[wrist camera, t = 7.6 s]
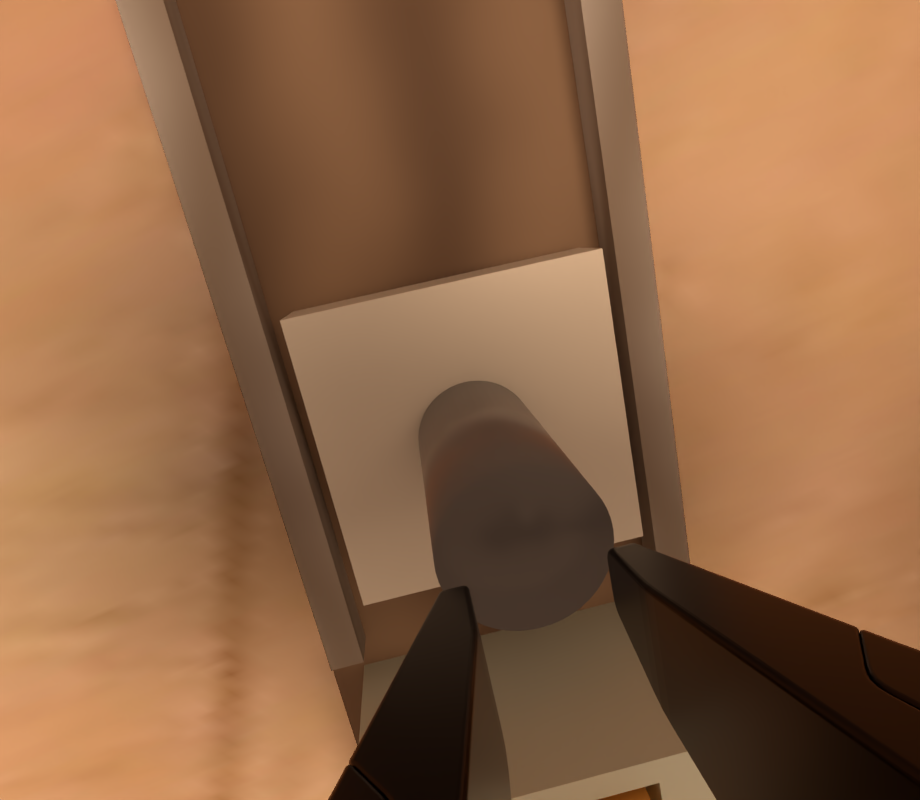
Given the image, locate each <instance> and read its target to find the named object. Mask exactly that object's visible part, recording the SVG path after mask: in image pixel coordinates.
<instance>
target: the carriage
mask: <svg viewBox="0 0 920 800" xmlns="http://www.w3.org/2000/svg"><path fill="white" fill-rule="evenodd" d="M280 323H281V327H282V330H283V333H284V337H285V340H286V344H287V347H288V350H289V354H290V357H291V361H292V364H293V367H294V371H295V374H296V378H297V381H298V384H299V388H300V391H301V395H302V398H303V401H304V405H305V408H306V412H307V415H308V418H309V422H310V425H311V429H312V432H313V435H314V439H315V442H316V446H317V449H318V452H319V456H320V459H321V463H322V466H323V469H324V473H325V476H326V480H327V483H328V486H329V490H330V493H331V497H332V500H333V503H334V507H335V510H336V514H337V517H338V520H339V524H340V527H341V530H342V534H343V537H344V541H345V544H346V547H347V551H348V554H349V558H350V561H351V564H352V568H353V571H354V575H355V578H356V581H357V585H358V588H359V592H360V595H361V598H362V602H363V605H364V606H365V605H369V604H373V603H377V602H381V601H385V600H389V599H393V598H397V597H401V596H405V595H409V594H413V593H417V592H421V591H425V590H429V589H433V588H437V587H441V588H442V590H447V589H451V588H455V587H459V586H467V587H468V588H469V590H470V594H471V598H472V602H473V606H474V611H475V615H476V619H477V622H478V623H480V624H482V625H484V626H488V627H491V628H495V629H500V630H506V631H524V630H533V629H538V628H542V627H545V626H548V625H552V624H554V623H556V622H558V621H561V620H563V619H564V618H566V617H568V616H570V615H571V614H573V613H574V612H576V611H577V610H578V609H580V608H581V607H582V606H583V605H584V604H585V603H586V602H587V601H588V600H590V598H591V597H592V596H593V595H594V594H595V592H596V591H597V590H598V588H599V587H600V585H601V584H602V582H603V581H604V578H605V576H606V574H607V572H608V570H609V567H608V560H607V554H608V551H609V550H610V549H612V548H614V543H617V542H621V541H625V540H629V539H633V538H637V537H641V536H643V530H642V523H641V516H640V509H639V502H638V495H637V488H636V481H635V474H634V467H633V460H632V453H631V446H630V439H629V432H628V425H627V418H626V411H625V404H624V397H623V390H622V383H621V376H620V369H619V362H618V355H617V348H616V341H615V334H614V327H613V320H612V313H611V306H610V299H609V292H608V285H607V278H606V271H605V263H604V256H603V249H602V248H575V249H570V250H566V251H561V252H557V253H552V254H548V255H544V256H539V257H535V258H530V259H526V260H521V261H517V262H512V263H508V264H503V265H499V266H494V267H490V268H485V269H481V270H476V271H472V272H468V273H463V274H459V275H454V276H450V277H445V278H441V279H436V280H432V281H427V282H423V283H418V284H414V285H409V286H405V287H400V288H396V289H392V290H387V291H383V292H378V293H374V294H369V295H365V296H360V297H356V298H351V299H347V300H342V301H338V302H333V303H329V304H324V305H320V306H316V307H311V308H307V309H302V310H298V311H293V312H292V313H290V314H289V315H287V316H286V317H284V318H283V319H281V320H280Z"/></svg>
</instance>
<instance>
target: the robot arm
mask: <svg viewBox="0 0 920 800" xmlns="http://www.w3.org/2000/svg"><path fill="white" fill-rule="evenodd" d="M607 560H608V567H609V573H610V579H611V585H612V591H613V597H614V602H615V606H616V609H617V612H618V614H619V617H620V619H621V621H622V623H623V625H624V628H625V630H626V632H627V634H628V636H629V638H630V641H631V643H632V645H633V647H634V649H635V652H636V654H637V656H638V658H639V660H640V663H641V665H642V667H643V669H644V671H645V673H646V676H647V678H648V680H649V682H650V684H651V687H652V689H653V691H654V693H655V695H656V697H657V699H658V701H659V703H660V705H661V708H662V709H663V711H664V713H665V715H666V717H667V718H668V720H669V722H670V724H671V725H672V727H673V729H674V730H675V732H676V734H677V735H678V737H679V739H680V740H681V742H682V744H683V745H684V747H685V749H686V750H687V752H688V754H689V755H690V757H691V759H692V760H693V762H694V764H695V765H696V767H697V769H698V770H699V772H700V773H701V775H702V777H703V778H704V780H705V782H706V783H707V785H708V787H709V788H710V790H711V792H712V793H713V795H714V797H715V798H716V800H920V650H917V649H914V648H911V647H908V646H906V645H903V644H900V643H897V642H895V641H892V640H889V639H887V638H884V637H882V636H879V635H876V634H874V633H871V632H868V631H866V630H861V631H860V633H859V630H858V628H857V627H855V626H852V625H849V624H847V623H844V622H842V621H839V620H836V619H834V618H831V617H828V616H826V615H823V614H821V613H818V612H815V611H813V610H810V609H807V608H805V607H802V606H799V605H797V604H794V603H792V602H789V601H786V600H784V599H781V598H778V597H776V596H773V595H771V594H768V593H765V592H763V591H760V590H757V589H755V588H752V587H749V586H747V585H744V584H742V583H739V582H736V581H734V580H731V579H728V578H726V577H723V576H721V575H718V574H715V573H713V572H710V571H707V570H705V569H702V568H699V567H697V566H694V565H692V564H689V563H686V562H684V561H681V560H678V559H676V558H673V557H671V556H668V555H665V554H663V553H660V552H657V551H655V550H652V549H650V548H647V547H644V546H642V545H639V544H636V543H630V544H627V545H623V546H619V547H615V548H612V549H610V550H609V551H608V554H607ZM328 800H512V799H511V790H510V780H509V770H508V762H507V755H506V748H505V743H504V737H503V732H502V728H501V723H500V719H499V715H498V710H497V706H496V701H495V697H494V693H493V688H492V684H491V679H490V675H489V671H488V666H487V662H486V658H485V653H484V649H483V644H482V640H481V636H480V632H479V627H478V623H477V619H476V615H475V611H474V606H473V602H472V598H471V594H470V590H469V588H468V587H467V586H459V587H455V588H451V589H447V590H443V591H441V592H440V593H439V595H438V597H437V599H436V600H435V602H434V604H433V606H432V608H431V610H430V612H429V613H428V615H427V617H426V619H425V621H424V623H423V625H422V627H421V628H420V630H419V632H418V634H417V636H416V638H415V640H414V641H413V643H412V645H411V647H410V649H409V651H408V653H407V654H406V656H405V658H404V660H403V662H402V664H401V666H400V668H399V669H398V671H397V673H396V675H395V677H394V679H393V681H392V682H391V684H390V686H389V688H388V690H387V692H386V694H385V695H384V697H383V699H382V701H381V703H380V705H379V707H378V709H377V710H376V712H375V714H374V716H373V718H372V720H371V722H370V723H369V725H368V727H367V729H366V731H365V733H364V735H363V737H362V738H361V740H360V742H359V744H358V746H357V748H356V750H355V751H354V753H353V755H352V757H351V759H350V761H349V765H348V766H346V768H345V770H344V771H343V773H342V775H341V777H340V779H339V781H338V783H337V784H336V786H335V788H334V790H333V792H332V794H331V795H330V797H329V799H328Z"/></svg>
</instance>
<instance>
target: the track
mask: <svg viewBox="0 0 920 800" xmlns="http://www.w3.org/2000/svg"><path fill="white" fill-rule="evenodd" d="M116 3H117V7H118V10H119V13H120V16H121V19H122V22H123V25H124V28H125V31H126V35H127V38H128V41H129V44H130V47H131V50H132V53H133V56H134V59H135V62H136V66H137V69H138V72H139V75H140V78H141V81H142V84H143V87H144V90H145V94H146V97H147V100H148V103H149V106H150V109H151V112H152V115H153V118H154V121H155V125H156V128H157V131H158V134H159V137H160V140H161V143H162V146H163V149H164V153H165V156H166V159H167V162H168V165H169V168H170V171H171V174H172V177H173V180H174V184H175V187H176V190H177V193H178V196H179V199H180V202H181V205H182V208H183V212H184V215H185V218H186V221H187V224H188V227H189V230H190V233H191V236H192V239H193V243H194V246H195V249H196V252H197V255H198V258H199V261H200V264H201V267H202V271H203V274H204V277H205V280H206V283H207V286H208V289H209V292H210V295H211V298H212V302H213V305H214V308H215V311H216V314H217V317H218V320H219V323H220V326H221V329H222V333H223V336H224V339H225V342H226V345H227V348H228V351H229V354H230V357H231V361H232V364H233V367H234V370H235V373H236V376H237V379H238V382H239V385H240V388H241V392H242V395H243V398H244V401H245V404H246V407H247V410H248V413H249V416H250V420H251V423H252V426H253V429H254V432H255V435H256V438H257V441H258V444H259V447H260V451H261V454H262V457H263V460H264V463H265V466H266V469H267V472H268V475H269V479H270V482H271V485H272V488H273V491H274V494H275V497H276V500H277V503H278V506H279V510H280V513H281V516H282V519H283V522H284V525H285V528H286V531H287V534H288V538H289V541H290V544H291V547H292V550H293V553H294V556H295V559H296V562H297V565H298V569H299V572H300V575H301V578H302V581H303V584H304V587H305V590H306V593H307V597H308V600H309V603H310V606H311V609H312V612H313V615H314V618H315V621H316V624H317V628H318V631H319V634H320V637H321V640H322V643H323V646H324V649H325V652H326V656H327V659H328V662H329V665H330V668H331V671H332V670H333V671H334V674H335V677H336V680H337V684H338V687H339V690H340V693H341V696H342V699H343V702H344V705H345V709H346V712H347V715H348V718H349V721H350V724H351V727H352V730H353V733H354V737H355V740H356V743H357V746H358V744H359V734H360V719H361V705H362V690H363V676H364V665H367V664H371V663H375V662H379V661H383V660H387V659H391V658H395V657H399V656H403V655H406V654H407V653H408V651H409V649H410V647H411V645H412V643H413V641H414V640H415V638H416V636H417V634H418V632H419V630H420V628H421V627H422V625H423V623H424V621H425V619H426V617H427V615H428V613H429V612H430V610H431V608H432V606H433V604H434V602H435V600H436V599H437V597H438V595H439V593H440V592H441V591H443V590H442V588H441V587H437V588H433V589H429V590H425V591H421V592H417V593H413V594H409V595H405V596H401V597H397V598H393V599H389V600H385V601H381V602H377V603H373V604H369V605H365V606H364V605H363V602H362V598H361V595H360V592H359V588H358V585H357V581H356V578H355V575H354V571H353V568H352V564H351V561H350V558H349V554H348V551H347V547H346V544H345V541H344V537H343V534H342V530H341V527H340V524H339V520H338V517H337V514H336V510H335V507H334V503H333V500H332V497H331V493H330V490H329V486H328V483H327V480H326V476H325V473H324V469H323V466H322V463H321V459H320V456H319V452H318V449H317V446H316V442H315V439H314V435H313V432H312V429H311V425H310V422H309V418H308V415H307V412H306V408H305V405H304V401H303V398H302V395H301V391H300V388H299V384H298V381H297V378H296V374H295V371H294V367H293V364H292V361H291V357H290V354H289V350H288V347H287V344H286V340H285V337H284V333H283V330H282V327H281V323H280V320H281V319H283V318H284V317H286V316H287V315H289V314H290V313H292V312H293V311H298V310H302V309H307V308H311V307H316V306H320V305H324V304H329V303H333V302H338V301H342V300H347V299H351V298H356V297H360V296H365V295H369V294H374V293H378V292H383V291H387V290H392V289H396V288H400V287H405V286H409V285H414V284H418V283H423V282H427V281H432V280H436V279H441V278H445V277H450V276H454V275H459V274H463V273H468V272H472V271H476V270H481V269H485V268H490V267H494V266H499V265H503V264H508V263H512V262H517V261H521V260H526V259H530V258H535V257H539V256H544V255H548V254H552V253H557V252H561V251H566V250H570V249H575V248H602V249H603V256H604V263H605V271H606V278H607V285H608V292H609V299H610V306H611V313H612V320H613V327H614V334H615V341H616V348H617V355H618V362H619V369H620V376H621V383H622V390H623V397H624V404H625V411H626V418H627V425H628V432H629V439H630V446H631V453H632V460H633V467H634V474H635V481H636V488H637V495H638V502H639V509H640V516H641V523H642V530H643V536H641V537H637V538H633V539H629V540H625V541H621V542H617V543H614V548H615V547H619V546H623V545H627V544H630V543H636V544H639V545H642V546H644V547H647V548H650V549H652V550H655V551H657V552H660V553H663V554H665V555H668V556H671V557H673V558H676V559H678V560H681V561H684V562H686V563H689V564H690V560H689V551H688V543H687V535H686V526H685V518H684V510H683V501H682V493H681V485H680V477H679V468H678V460H677V452H676V443H675V435H674V427H673V418H672V410H671V402H670V394H669V385H668V377H667V369H666V360H665V352H664V344H663V335H662V327H661V319H660V310H659V302H658V294H657V286H656V277H655V269H654V261H653V252H652V244H651V236H650V227H649V219H648V211H647V203H646V194H645V186H644V178H643V169H642V161H641V153H640V144H639V136H638V128H637V119H636V111H635V103H634V95H633V86H632V78H631V70H630V61H629V53H628V45H627V36H626V28H625V20H624V12H623V3H622V0H116ZM611 602H614V597H613V591H612V585H611V579H610V573H609V570H608V572H607V574H606V576H605V578H604V581H603V582H602V584H601V585H600V587H599V588H598V590H597V591H596V592H595V594H594V595H593V596H592V597H591V598H590V600H588V601H587V602H586V603H585V604H584V605H583V606H582V607H581V608H580V609H578V610H577V611H580V610H583V609H587V608H591V607H595V606H599V605H603V604H607V603H611ZM477 623H478V622H477ZM478 627H479V632H480V636H481V635H485V634H489V633H493V632H497V631H501V630H500V629H495V628H491V627H488V626H484V625H482V624H480V623H478Z"/></svg>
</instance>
